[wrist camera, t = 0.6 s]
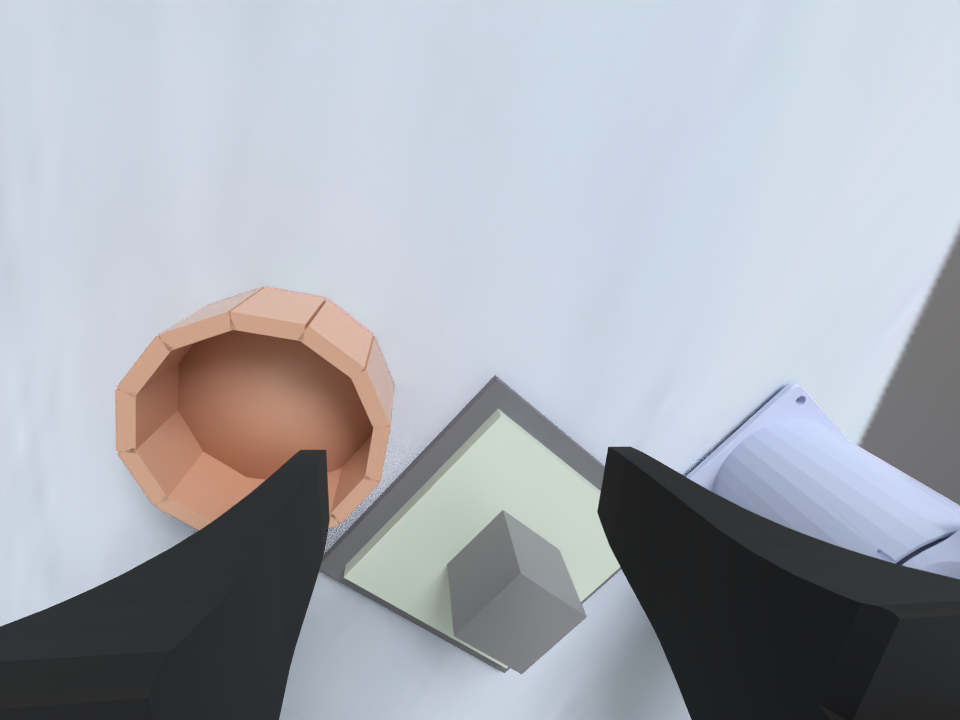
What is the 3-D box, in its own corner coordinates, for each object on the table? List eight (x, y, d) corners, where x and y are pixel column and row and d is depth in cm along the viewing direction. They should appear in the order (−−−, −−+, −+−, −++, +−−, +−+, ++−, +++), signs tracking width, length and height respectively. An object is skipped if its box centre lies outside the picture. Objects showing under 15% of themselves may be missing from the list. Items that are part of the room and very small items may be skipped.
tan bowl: (432, 380, 21) (437, 422, 18) (309, 514, 23) (289, 578, 19) (256, 242, 18) (216, 257, 15) (127, 406, 20) (62, 457, 16)
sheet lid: (646, 527, 25) (696, 600, 21) (503, 655, 27) (522, 748, 23) (497, 408, 22) (520, 466, 17) (345, 564, 24) (330, 654, 19)
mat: (666, 518, 26) (671, 524, 25) (502, 665, 28) (504, 672, 28) (495, 375, 22) (497, 379, 21) (317, 561, 24) (316, 568, 23)
